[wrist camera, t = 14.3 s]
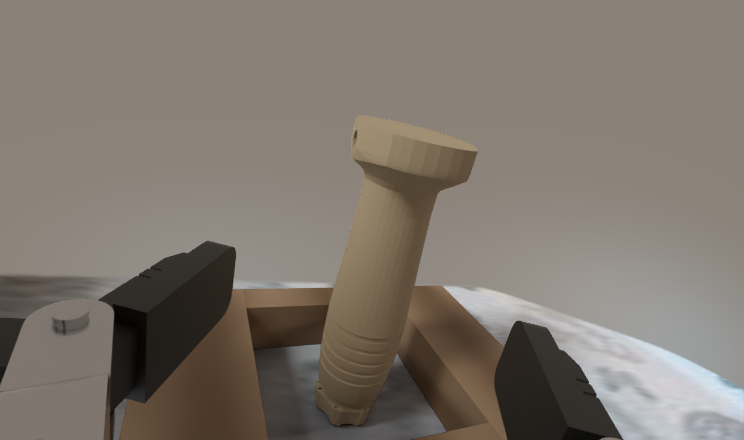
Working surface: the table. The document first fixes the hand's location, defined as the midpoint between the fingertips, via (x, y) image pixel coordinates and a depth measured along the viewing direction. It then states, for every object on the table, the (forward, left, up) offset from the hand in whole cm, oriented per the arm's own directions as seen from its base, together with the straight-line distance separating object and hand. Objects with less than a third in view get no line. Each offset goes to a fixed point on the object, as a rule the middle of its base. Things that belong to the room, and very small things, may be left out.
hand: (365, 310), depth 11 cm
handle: (-1, +7, -11) cm, 13 cm away
